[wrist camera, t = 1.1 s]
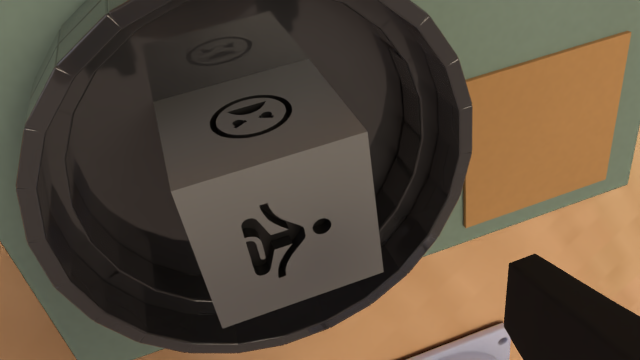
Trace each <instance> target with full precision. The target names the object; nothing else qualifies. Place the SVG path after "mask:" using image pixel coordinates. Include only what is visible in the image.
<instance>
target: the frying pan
mask: <svg viewBox="0 0 640 360" xmlns="http://www.w3.org/2000/svg"><path fill="white" fill-rule="evenodd" d="M306 59H309V60H310V61H311V62H312V63H313V65H314V66H315V67H316V68H317V70H318V71H319V72H320V73H321V75H322V76H323V77H324V78H325V80H326V81H327V82H328V83H329V84H330V86H331V87H332V88H333V89H334V91H335V92H336V93H337V94H338V96H339V97H340V98H341V99H342V101H343V102H344V103H345V104H346V106H347V107H348V108H349V109H350V110H351V112H352V113H353V114H354V115H355V117H356V118H357V119H358V120H359V122H360V123H361V124H362V125H363V127H364V128H365V129H366V130H367V132H368V140H369V149H370V158H371V166H372V175H373V184H374V192H375V201H376V210H377V218H378V227H379V236H380V244H381V253H382V262H383V271H384V272H382V273H380V274H377V275H374V276H371V277H368V278H365V279H363V280H360V281H357V282H354V283H351V284H348V285H345V286H343V287H340V288H337V289H334V290H331V291H328V292H326V293H323V294H320V295H317V296H314V297H311V298H308V299H306V300H303V301H300V302H297V303H294V304H291V305H288V306H286V307H283V308H280V309H277V310H274V311H271V312H269V313H266V314H263V315H260V316H257V317H254V318H251V319H249V320H246V321H243V322H240V323H237V324H234V325H232V326H229V327H226V328H223V329H222V326H221V323H220V321H219V318H218V315H217V313H216V310H215V307H214V305H213V302H212V299H211V297H210V294H209V291H208V289H207V286H206V284H205V281H204V278H203V276H202V273H201V270H200V268H199V265H198V262H197V260H196V257H195V254H194V252H193V249H192V246H191V244H190V241H189V239H188V236H187V233H186V231H185V228H184V225H183V223H182V220H181V217H180V215H179V212H178V209H177V207H176V204H175V201H174V199H173V196H172V193H171V190H170V185H169V180H168V175H167V170H166V165H165V160H164V154H163V149H162V144H161V139H160V134H159V129H158V124H157V119H156V114H155V109H154V103H153V102H155V101H158V100H162V99H165V98H169V97H173V96H176V95H180V94H183V93H187V92H191V91H194V90H198V89H201V88H205V87H209V86H212V85H216V84H219V83H223V82H227V81H230V80H234V79H237V78H241V77H245V76H248V75H252V74H255V73H259V72H263V71H266V70H270V69H274V68H277V67H281V66H284V65H288V64H292V63H295V62H299V61H302V60H306ZM472 124H473V106H472V101H471V97H470V94H469V91H468V87H467V84H466V81H465V77H464V74H463V70H462V67H461V64H460V60H459V58H458V55H457V54H456V53H455V51H454V50H453V48H452V47H451V45H450V44H449V42H448V41H447V39H446V38H445V37H444V35H443V34H442V32H441V31H440V29H439V28H438V26H437V25H436V24H435V22H434V21H433V19H432V18H431V16H430V15H429V14H428V13H427V12H426V11H424V10H423V9H422V8H420V7H419V6H418V5H416V4H415V3H414V2H412V1H411V0H85V2H84V3H83V4H82V5H81V6H80V7H79V8H78V9H77V10H76V11H75V12H74V13H73V14H72V15H71V16H70V17H69V18H68V19H67V20H66V21H65V22H64V23H63V24H62V25H61V29H60V30H58V32H57V34H56V36H55V38H54V40H53V42H52V44H51V46H50V48H49V50H48V52H47V54H46V56H45V58H44V60H43V62H42V64H41V66H40V68H39V70H38V72H37V74H36V76H35V78H34V83H33V85H32V90H31V95H30V100H29V105H28V109H27V114H26V119H25V124H24V129H23V136H22V143H21V150H20V157H19V165H18V172H17V179H16V193H17V198H18V203H19V208H20V212H21V217H22V222H23V227H24V231H25V236H26V241H27V242H28V245H29V247H30V249H31V250H32V252H33V254H34V255H35V257H36V259H37V260H38V262H39V263H40V265H41V267H42V268H43V270H44V272H45V273H46V275H47V277H48V278H49V280H50V282H51V283H52V285H53V286H54V287H55V288H56V290H58V291H59V292H60V293H61V294H62V295H63V296H64V297H66V298H67V299H68V300H69V301H70V302H71V303H73V304H74V305H75V306H76V307H77V308H78V309H80V310H81V311H82V312H83V313H84V314H85V315H86V316H88V317H89V318H90V319H91V320H94V322H96V323H98V324H100V325H102V326H104V327H106V328H108V329H110V330H113V331H115V332H117V333H119V334H121V335H123V336H125V337H127V338H129V339H132V340H134V341H136V342H139V343H142V344H147V345H151V346H156V347H161V348H165V349H170V350H175V351H179V352H184V353H187V352H188V353H242V352H248V351H253V350H259V349H265V348H270V347H276V346H281V345H284V344H288V343H291V342H293V341H296V340H299V339H302V338H304V337H307V336H310V335H313V334H315V333H318V332H321V331H324V330H326V329H329V327H330V328H331V327H333V326H335V325H336V324H338V323H340V322H342V321H343V320H345V319H347V318H349V317H350V316H352V315H354V314H356V313H357V312H359V311H361V310H363V309H364V308H366V307H368V306H369V305H371V304H372V303H374V302H375V301H376V300H377V299H379V298H380V297H381V296H382V295H383V294H385V293H386V292H387V291H388V290H389V289H391V288H392V287H393V286H394V285H395V284H397V283H398V282H399V281H400V280H401V279H403V278H404V277H405V276H406V275H407V273H409V272H410V271H411V270H412V269H413V267H414V266H415V265H416V264H417V263H418V261H419V260H420V259H421V258H422V257H423V255H424V254H425V253H426V252H427V251H428V249H429V248H430V247H431V246H432V245H433V243H434V242H435V241H436V240H437V237H439V235H440V233H441V232H442V230H443V228H444V226H445V224H446V222H447V220H448V219H449V217H450V215H451V213H452V211H453V209H454V207H455V205H456V204H457V202H458V200H459V196H461V192H462V188H463V185H464V181H465V177H466V174H467V170H468V166H469V163H470V159H471V155H472Z"/></svg>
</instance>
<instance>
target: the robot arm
mask: <svg viewBox="0 0 640 360" xmlns="http://www.w3.org/2000/svg"><path fill="white" fill-rule="evenodd" d="M511 340H512V341H513V343H514V345H515V347H516V348H517V350H518V352H519V353H520V355H521V356H522V358H523V360H640V316H638V315H636V314H635V313H633V312H631V311H629V310H628V309H626V308H624V307H622V306H621V305H619V304H617V303H616V302H614V301H612V300H610V299H609V298H607V297H605V296H604V295H602V294H600V293H599V292H597V291H595V290H594V289H592V288H591V287H589V286H587V285H586V284H584V283H582V282H581V281H579V280H577V279H576V278H574V277H573V276H571V275H569V274H568V273H566V272H564V271H563V270H561V269H560V268H558V267H556V266H555V265H553V264H551V263H550V262H548V261H546V260H545V259H543V258H541V257H540V256H538V255H536V254H533V255H530V256H528V257H525V258H522V259H520V260H517V261H514V262H512V263H509V270H508V282H507V294H506V305H505V317H504V323H500V324H497V325H494V326H492V327H489V328H486V329H484V330H481V331H479V332H476V333H473V334H471V335H468V336H466V337H463V338H460V339H458V340H455V341H453V342H450V343H447V344H445V345H442V346H440V347H437V348H434V349H432V350H429V351H427V352H424V353H421V354H419V355H416V356H414V357H411V358H408V359H406V360H509V356H510V342H511Z"/></svg>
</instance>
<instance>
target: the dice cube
mask: <svg viewBox="0 0 640 360" xmlns="http://www.w3.org/2000/svg"><path fill="white" fill-rule="evenodd" d="M153 103H154V109H155V114H156V119H157V124H158V129H159V134H160V139H161V144H162V149H163V154H164V160H165V165H166V170H167V175H168V180H169V185H170V190H171V193H172V196H173V199H174V201H175V204H176V207H177V209H178V212H179V215H180V217H181V220H182V223H183V225H184V228H185V231H186V233H187V236H188V239H189V241H190V244H191V246H192V249H193V252H194V254H195V257H196V260H197V262H198V265H199V268H200V270H201V273H202V276H203V278H204V281H205V284H206V286H207V289H208V291H209V294H210V297H211V299H212V302H213V305H214V307H215V310H216V313H217V315H218V318H219V321H220V323H221V326H222V329H223V328H226V327H229V326H232V325H234V324H237V323H240V322H243V321H246V320H249V319H251V318H254V317H257V316H260V315H263V314H266V313H269V312H271V311H274V310H277V309H280V308H283V307H286V306H288V305H291V304H294V303H297V302H300V301H303V300H306V299H308V298H311V297H314V296H317V295H320V294H323V293H326V292H328V291H331V290H334V289H337V288H340V287H343V286H345V285H348V284H351V283H354V282H357V281H360V280H363V279H365V278H368V277H371V276H374V275H377V274H380V273H382V272H384V271H383V262H382V253H381V244H380V236H379V227H378V218H377V210H376V201H375V192H374V184H373V175H372V166H371V158H370V149H369V140H368V132H367V130H366V129H365V128H364V127H363V125H362V124H361V123H360V122H359V120H358V119H357V118H356V117H355V115H354V114H353V113H352V112H351V110H350V109H349V108H348V107H347V106H346V104H345V103H344V102H343V101H342V99H341V98H340V97H339V96H338V94H337V93H336V92H335V91H334V89H333V88H332V87H331V86H330V84H329V83H328V82H327V81H326V80H325V78H324V77H323V76H322V75H321V73H320V72H319V71H318V70H317V68H316V67H315V66H314V65H313V63H312V62H311V61H310V60H309V59H306V60H302V61H299V62H295V63H292V64H288V65H284V66H281V67H277V68H274V69H270V70H266V71H263V72H259V73H255V74H252V75H248V76H245V77H241V78H237V79H234V80H230V81H227V82H223V83H219V84H216V85H212V86H209V87H205V88H201V89H198V90H194V91H191V92H187V93H183V94H180V95H176V96H173V97H169V98H165V99H162V100H158V101H155V102H153Z"/></svg>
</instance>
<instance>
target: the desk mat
mask: <svg viewBox="0 0 640 360" xmlns="http://www.w3.org/2000/svg"><path fill="white" fill-rule="evenodd" d="M411 1H412V2H414V3H415V4H416V5H418V6H419V7H420V8H422V9H423V10H424V11H426V12H427V13H428V14H429V15H430V16H431V18H432V19H433V21H434V22H435V24H436V25H437V26H438V28H439V29H440V31H441V32H442V34H443V35H444V37H445V38H446V39H447V41H448V42H449V44H450V45H451V47H452V48H453V50H454V51H455V53H456V54H457V55H458V58H459V60H460V64H461V67H462V70H463V74H464V77H465V81H466V84H467V87H468V91H469V94H470V97H471V101H472V106H473V124H472V155H471V159H470V163H469V166H468V170H467V174H466V177H465V181H464V185H463V188H462V192H461V196H459V200H458V202H457V204H456V205H455V207H454V209H453V211H452V213H451V215H450V217H449V219H448V220H447V222H446V224H445V226H444V228H443V230H442V232H441V233H440V235H439V237H437V240H436V241H435V242H434V243H433V245H432V246H431V247H430V248H429V249H428V251H427V252H426V253H425V254H424V255H423V257H424V256H427V255H430V254H432V253H435V252H438V251H441V250H444V249H447V248H449V247H452V246H455V245H458V244H461V243H464V242H466V241H469V240H472V239H475V238H478V237H480V236H483V235H486V234H489V233H492V232H495V231H497V230H500V229H503V228H506V227H509V226H512V225H514V224H517V223H520V222H523V221H526V220H528V219H531V218H534V217H537V216H540V215H543V214H545V213H548V212H551V211H554V210H557V209H559V208H562V207H565V206H568V205H571V204H574V203H576V202H579V201H582V200H585V199H588V198H591V197H593V196H596V195H599V194H602V193H605V192H607V191H610V190H613V189H616V188H619V187H622V186H624V185H627V184H628V179H629V174H630V169H631V164H632V159H633V154H634V150H635V145H636V140H637V135H638V130H639V125H640V0H411ZM84 2H85V0H0V241H1V243H2V244H3V246H4V247H5V249H6V250H7V252H8V254H9V255H10V257H11V258H12V260H13V261H14V263H15V264H16V266H17V267H18V269H19V271H20V272H21V274H22V275H23V277H24V278H25V280H26V281H27V283H28V285H29V286H30V288H31V289H32V291H33V292H34V294H35V295H36V297H37V298H38V300H39V302H40V303H41V305H42V306H43V308H44V309H45V311H46V312H47V314H48V316H49V317H50V319H51V320H52V322H53V323H54V325H55V326H56V328H57V329H58V331H59V333H60V334H61V336H62V337H63V339H64V340H65V342H66V343H67V345H68V347H69V348H70V350H71V351H72V353H73V354H74V356H75V357H76V359H77V360H133V359H136V358H139V357H142V356H145V355H147V354H150V353H153V352H156V351H159V350H162V349H164V348H161V347H156V346H151V345H147V344H142V343H139V342H136V341H134V340H132V339H129V338H127V337H125V336H123V335H121V334H119V333H117V332H115V331H113V330H110V329H108V328H106V327H104V326H102V325H100V324H98V323H96V322H94V320H91V319H90V318H89V317H88V316H86V315H85V314H84V313H83V312H82V311H81V310H80V309H78V308H77V307H76V306H75V305H74V304H73V303H71V302H70V301H69V300H68V299H67V298H66V297H64V296H63V295H62V294H61V293H60V292H59V291H58V290H56V288H55V287H54V286H53V285H52V283H51V282H50V280H49V278H48V277H47V275H46V273H45V272H44V270H43V268H42V267H41V265H40V263H39V262H38V260H37V259H36V257H35V255H34V254H33V252H32V250H31V249H30V247H29V245H28V242H27V241H26V236H25V231H24V227H23V222H22V217H21V212H20V208H19V203H18V198H17V193H16V179H17V172H18V165H19V157H20V150H21V143H22V136H23V129H24V124H25V119H26V114H27V109H28V105H29V100H30V95H31V90H32V85H33V83H34V78H35V76H36V74H37V72H38V70H39V68H40V66H41V64H42V62H43V60H44V58H45V56H46V54H47V52H48V50H49V48H50V46H51V44H52V42H53V40H54V38H55V36H56V34H57V32H58V30H60V29H61V25H62V24H63V23H64V22H65V21H66V20H67V19H68V18H69V17H70V16H71V15H72V14H73V13H74V12H75V11H76V10H77V9H78V8H79V7H80V6H81V5H82V4H83V3H84Z"/></svg>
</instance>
